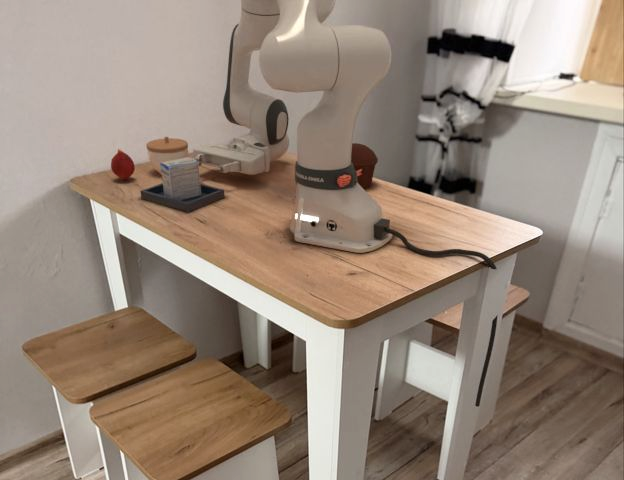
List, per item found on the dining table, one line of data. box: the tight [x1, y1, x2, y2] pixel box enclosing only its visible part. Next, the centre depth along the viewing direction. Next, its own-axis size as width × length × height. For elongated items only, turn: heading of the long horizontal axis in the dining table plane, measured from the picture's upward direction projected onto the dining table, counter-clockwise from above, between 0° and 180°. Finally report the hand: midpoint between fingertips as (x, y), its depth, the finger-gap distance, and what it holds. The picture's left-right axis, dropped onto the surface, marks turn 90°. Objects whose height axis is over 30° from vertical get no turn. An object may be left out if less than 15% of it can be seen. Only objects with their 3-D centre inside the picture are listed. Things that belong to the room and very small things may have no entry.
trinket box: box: [145, 136, 189, 176], centre depth 160 cm, size 11×11×9 cm
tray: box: [139, 182, 226, 213], centre depth 145 cm, size 16×13×2 cm
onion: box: [110, 148, 136, 181], centre depth 154 cm, size 6×6×8 cm
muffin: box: [351, 142, 379, 190], centre depth 153 cm, size 12×11×10 cm
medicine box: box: [160, 156, 201, 201], centre depth 143 cm, size 8×4×9 cm, turn 130°
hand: (207, 165), depth 148 cm, fingers open, 8 cm apart
